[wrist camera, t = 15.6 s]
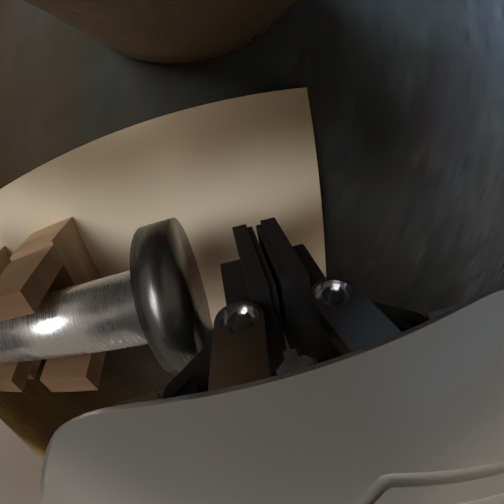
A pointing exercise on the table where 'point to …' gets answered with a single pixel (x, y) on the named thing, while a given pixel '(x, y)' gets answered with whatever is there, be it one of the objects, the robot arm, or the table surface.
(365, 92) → the table surface
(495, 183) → the table surface
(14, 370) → the wooden bolt jig
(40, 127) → the table surface
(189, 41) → the pillar candle
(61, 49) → the table surface
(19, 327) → the shaft
